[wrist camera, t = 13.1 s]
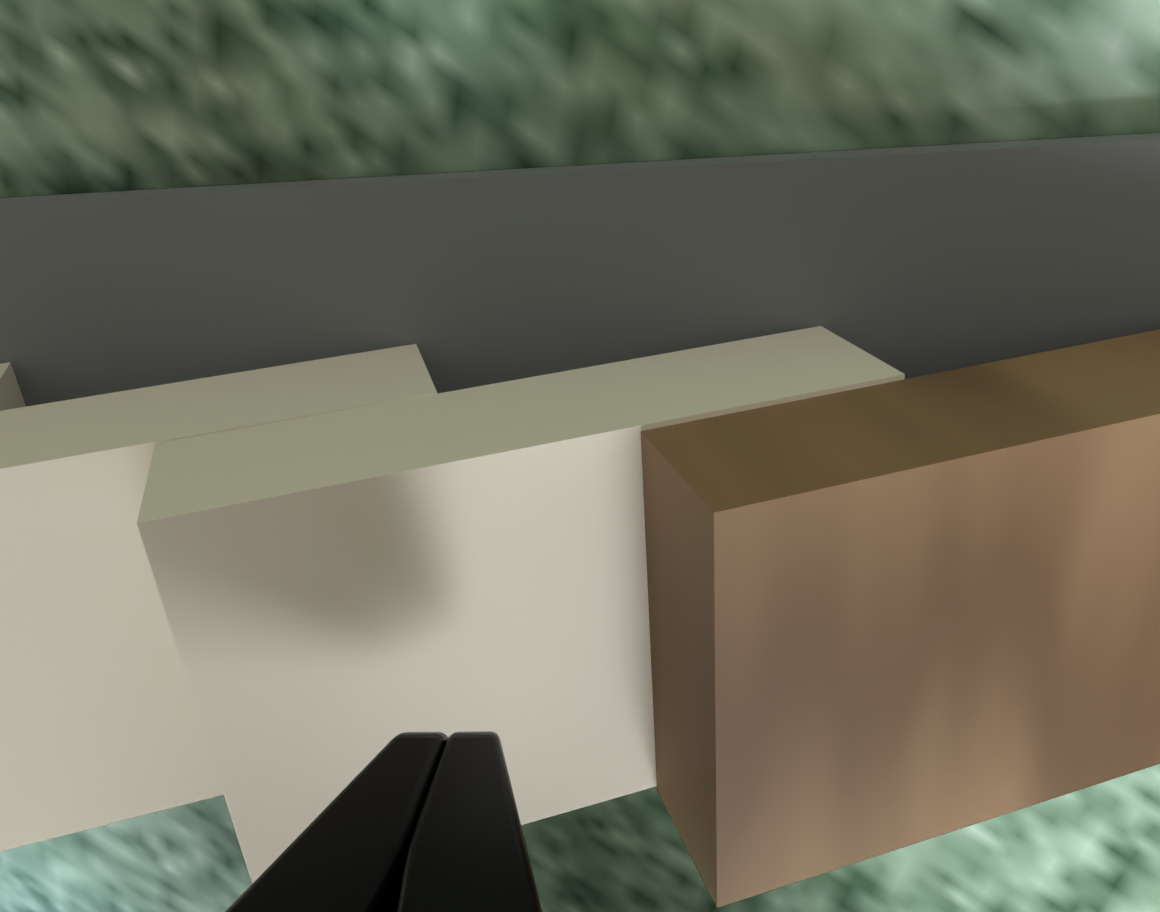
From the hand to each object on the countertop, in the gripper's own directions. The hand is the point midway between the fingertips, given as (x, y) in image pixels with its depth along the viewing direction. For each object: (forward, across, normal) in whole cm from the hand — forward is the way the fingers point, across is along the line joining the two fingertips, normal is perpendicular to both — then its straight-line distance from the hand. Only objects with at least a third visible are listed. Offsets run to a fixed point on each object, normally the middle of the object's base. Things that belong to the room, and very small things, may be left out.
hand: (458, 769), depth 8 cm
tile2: (+4, -4, 0) cm, 5 cm away
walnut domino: (+4, -8, 0) cm, 9 cm away
